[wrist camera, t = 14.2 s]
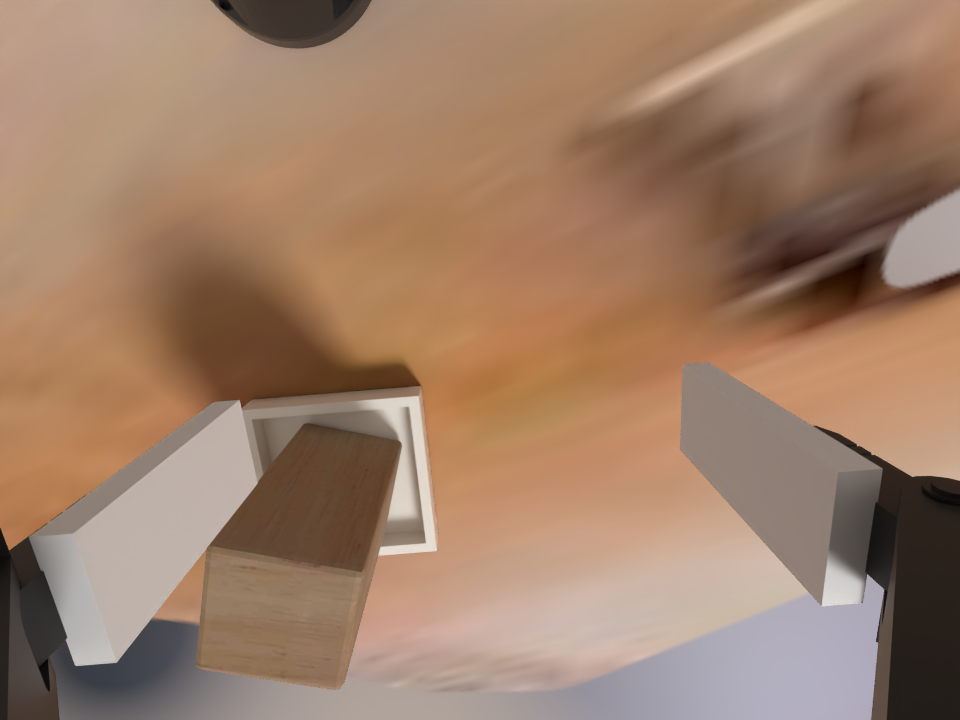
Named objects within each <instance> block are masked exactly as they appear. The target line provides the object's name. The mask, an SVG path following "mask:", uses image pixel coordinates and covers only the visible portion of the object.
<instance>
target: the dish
mask: <svg viewBox="0 0 960 720" xmlns="http://www.w3.org/2000/svg"><path fill="white" fill-rule="evenodd" d="M241 409H242V413H243V418H244V423H245V427H246V432H247V436H248V441H249V446H250V450H251V455H252V459H253V464H254V469H255V473H256V478H257V482H258V481H259V479H260V478H261V477H262V476H263V474H264V473H265V472H266V471H267V469H268V468H269V467H270V466H271V464H272V463H273V462H274V461H275V459H276V458H277V457H278V456H279V454H280V453H281V452H282V450H283V449H284V448H285V447H286V445H287V444H288V443H289V442H290V440H291V439H292V438H293V437H294V435H295V434H296V433H297V432H298V430H299V429H300V428H301V427H302V425H303V424H305V423H310V424H315V425H320V426H325V427H331V428H336V429H341V430H346V431H351V432H356V433H362V434H367V435H372V436H377V437H382V438H387V439H392V440H398V441H400V442H401V444H402V449H401V454H400V459H399V464H398V469H397V474H396V479H395V484H394V489H393V494H392V500H391V505H390V510H389V515H388V520H387V524H386V528H385V532H384V536H383V539H382V543H381V547H380V551H379V554H378V556H379V555H392V554H404V553H417V552H429V551H437V542H438V526H437V518H436V509H435V500H434V491H433V483H432V474H431V465H430V457H429V448H428V439H427V431H426V422H425V413H424V404H423V396H422V387H421V386H414V387H401V388H389V389H377V390H364V391H352V392H339V393H327V394H315V395H302V396H290V397H278V398H265V399H253V400H251V401H250V402H248V403H247V404H246V405H245V406H244V407H242V408H241Z"/></svg>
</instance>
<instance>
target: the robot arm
mask: <svg viewBox="0 0 960 720" xmlns="http://www.w3.org/2000/svg"><path fill="white" fill-rule="evenodd" d="M211 1H212V2H213V3H214V5H215V6H216V7H217V8H218V9H219V10H220V11H221V12H222V13H223V14H225V15H226V16H227V17H228V18H229V19H230V20H232V21H233V22H234V23H235V24H236V25H238V26H239V27H240V28H241V29H243V30H244V31H246V32H247V33H249V34H250V35H252V36H254V37H256V38H257V39H260V40H262V41H264V42H267V43H269V44H272V45H276V46H280V47H286V48H309V47H314V46H318V45H322V44H325V43H327V42H330V41H332V40H334V39H336V38H337V37H339V36H341V35H342V34H343V33H345V32H346V31H347V30H349V29H350V28H351V27H352V26H353V25H354V24H355V23H356V22H357V21H358V20H359V18H360V17H361V16H362V15H363V13H364V12H365V10H366V9H367V7H368V5H369V4H370V2H371V0H211ZM680 450H681V451H682V452H683V453H684V454H685V456H686V457H687V458H688V459H689V460H690V461H691V462H692V463H693V464H694V465H695V467H696V468H697V469H698V470H699V471H700V472H701V473H702V474H703V475H704V477H705V478H706V479H707V480H708V481H709V482H710V483H711V484H712V485H713V487H714V488H715V489H716V490H717V491H718V492H719V493H720V494H721V495H722V496H723V498H724V499H725V500H726V501H727V502H728V503H729V504H730V505H731V506H732V508H733V509H734V510H735V511H736V512H737V513H738V514H739V515H740V516H741V518H742V519H743V520H744V521H745V522H746V523H747V524H748V525H749V526H750V527H751V529H752V530H753V531H754V532H755V533H756V534H757V535H758V536H759V537H760V539H761V540H762V541H763V542H764V543H765V544H766V545H767V546H768V547H769V549H770V550H771V551H772V552H773V553H774V554H775V555H776V556H777V557H778V558H779V560H780V561H781V562H782V563H783V564H784V565H785V566H786V567H787V568H788V570H789V571H790V572H791V573H792V574H793V575H794V576H795V577H796V578H797V580H798V581H799V582H800V583H801V584H802V585H803V586H804V587H805V588H806V589H807V591H808V592H809V593H810V594H811V595H812V596H813V597H814V598H815V599H816V600H817V602H818V603H819V604H820V605H821V606H830V605H843V604H856V603H863V598H864V592H865V585H866V578H867V574H868V575H869V576H870V577H872V578H873V579H874V580H875V581H876V582H877V583H878V584H879V585H880V586H881V587H883V588H884V595H883V602H882V608H881V614H880V620H879V626H878V632H877V639H876V642H878V652H877V664H876V674H875V685H874V697H873V707H872V718H871V720H960V481H958V480H954V479H950V478H942V477H935V476H915V477H911V476H910V475H908V474H906V473H905V472H903V471H901V470H899V469H898V468H896V467H894V466H893V465H891V464H889V463H888V462H886V461H884V460H882V459H881V458H879V457H877V456H876V455H871V452H869V451H867V450H865V449H864V448H862V447H860V446H857V444H855V443H854V442H852V441H850V440H849V439H847V438H845V437H843V436H842V435H840V434H838V433H835V432H832V431H829V430H826V429H823V428H821V427H818V426H812V425H810V424H809V423H807V422H806V421H804V420H802V419H801V418H799V417H797V416H796V415H794V414H792V413H791V412H789V411H788V410H786V409H784V408H783V407H781V406H779V405H778V404H776V403H774V402H773V401H771V400H770V399H768V398H766V397H765V396H763V395H761V394H760V393H758V392H756V391H755V390H753V389H752V388H750V387H748V386H747V385H745V384H743V383H742V382H740V381H738V380H737V379H735V378H734V377H732V376H730V375H729V374H727V373H725V372H724V371H722V370H720V369H719V368H717V367H716V366H714V365H712V364H711V363H709V362H706V363H693V364H683V372H682V405H681V438H680ZM257 484H258V482H257V478H256V473H255V469H254V464H253V459H252V455H251V450H250V446H249V441H248V436H247V432H246V427H245V423H244V418H243V413H242V409H241V404H240V400H233V401H220V402H213V403H212V404H210V405H209V406H208V407H206V408H205V409H204V410H202V411H201V412H199V413H198V414H197V415H195V416H194V417H193V418H191V419H190V420H188V421H187V422H186V423H184V424H183V425H182V426H180V427H179V428H177V429H176V430H175V431H173V432H172V433H171V434H169V435H168V436H167V437H165V438H164V439H162V440H161V441H160V442H158V443H157V444H156V445H154V446H153V447H151V448H150V449H149V450H147V451H146V452H145V453H143V454H142V455H141V456H139V457H138V458H136V459H135V460H134V461H132V462H131V463H130V464H128V465H127V466H125V467H124V468H123V469H121V470H120V471H119V472H117V473H116V474H115V475H113V476H112V477H110V478H109V479H108V480H106V481H105V482H104V483H102V484H101V485H99V486H98V487H97V488H95V489H94V490H93V491H91V492H90V493H89V494H87V495H85V496H83V497H82V498H81V499H79V500H78V501H77V502H75V503H74V504H72V505H71V506H70V507H68V508H67V509H66V510H65V511H64V512H62V513H60V514H59V515H57V516H56V517H55V518H53V519H52V520H51V521H50V522H49V523H46V524H45V525H44V526H42V527H41V528H40V529H38V530H37V531H35V532H34V533H33V534H31V535H30V536H29V537H27V538H26V539H24V540H23V541H22V542H20V543H19V544H18V545H16V546H15V547H13V548H12V549H11V550H8V547H7V544H6V542H5V539H4V536H3V534H2V531H1V528H0V720H59V709H58V697H57V687H56V675H55V671H54V668H53V666H52V663H51V661H50V658H49V656H50V655H51V654H52V653H53V652H54V651H55V650H56V649H57V648H58V647H59V646H60V645H61V644H62V643H63V642H64V641H65V640H66V641H67V644H68V647H69V650H70V652H71V655H72V658H73V661H74V663H75V666H79V665H92V664H105V663H116V662H117V661H118V660H119V659H120V657H121V656H122V655H123V654H124V652H125V651H126V650H127V649H128V647H129V646H130V645H131V643H132V642H133V641H134V640H135V638H136V637H137V636H138V635H139V633H140V632H141V631H142V630H143V628H144V627H145V626H146V624H147V623H148V622H149V621H150V619H151V618H152V617H153V616H154V614H155V613H156V612H157V611H158V609H159V608H160V607H161V606H162V604H163V603H164V602H165V600H166V599H167V598H168V597H169V595H170V594H171V593H172V592H173V590H174V589H175V588H176V586H177V585H178V584H179V583H180V581H181V580H182V579H183V578H184V576H185V575H186V574H187V573H188V571H189V570H190V569H191V567H192V566H193V565H194V564H195V562H196V561H197V560H198V559H199V557H200V556H201V555H202V554H203V552H204V551H205V550H206V548H207V547H208V546H209V545H210V543H211V542H212V541H213V540H214V538H215V537H216V536H217V534H218V533H219V532H220V531H221V529H222V528H223V527H224V526H225V524H226V523H227V522H228V521H229V519H230V518H231V517H232V515H233V514H234V513H235V512H236V510H237V509H238V508H239V507H240V505H241V504H242V503H243V502H244V500H245V499H246V498H247V496H248V495H249V494H250V493H251V491H252V490H253V489H254V488H255V486H256V485H257Z"/></svg>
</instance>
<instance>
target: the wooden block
mask: <svg viewBox="0 0 960 720" xmlns="http://www.w3.org/2000/svg"><path fill="white" fill-rule="evenodd" d="M401 449H402V444H401V442H400V441H398V440H392V439H387V438H382V437H377V436H372V435H367V434H362V433H356V432H351V431H346V430H341V429H336V428H331V427H325V426H320V425H315V424H310V423H305V424H303V425H302V427H301V428H300V429H299V430H298V432H297V433H296V434H295V435H294V437H293V438H292V439H291V440H290V442H289V443H288V444H287V445H286V447H285V448H284V449H283V450H282V452H281V453H280V454H279V456H278V457H277V458H276V459H275V461H274V462H273V463H272V464H271V466H270V467H269V468H268V469H267V471H266V472H265V473H264V474H263V476H262V477H261V478H260V479H259V481H258V484H257V485H256V486H255V488H254V489H253V490H252V491H251V493H250V494H249V495H248V496H247V498H246V499H245V500H244V502H243V503H242V504H241V505H240V507H239V508H238V509H237V510H236V512H235V513H234V514H233V515H232V517H231V518H230V519H229V521H228V522H227V523H226V524H225V526H224V527H223V528H222V529H221V531H220V532H219V533H218V534H217V536H216V537H215V538H214V540H213V541H212V542H211V543H210V545H209V546H208V547H207V551H206V562H205V573H204V583H203V594H202V604H201V615H200V626H199V636H198V647H197V657H196V666H197V667H198V668H199V669H202V670H209V671H215V672H222V673H228V674H234V675H242V676H247V677H254V678H260V679H267V680H274V681H280V682H286V683H293V684H299V685H306V686H313V687H319V688H326V689H332V690H338V689H340V688H341V686H342V685H343V683H344V682H345V678H346V674H347V671H348V667H349V663H350V659H351V656H352V652H353V648H354V644H355V641H356V637H357V633H358V629H359V626H360V622H361V618H362V614H363V611H364V607H365V603H366V599H367V596H368V592H369V588H370V584H371V581H372V577H373V573H374V569H375V566H376V562H377V558H378V554H379V551H380V547H381V543H382V539H383V536H384V532H385V528H386V524H387V520H388V515H389V510H390V505H391V500H392V494H393V489H394V484H395V479H396V474H397V469H398V464H399V459H400V454H401Z"/></svg>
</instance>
